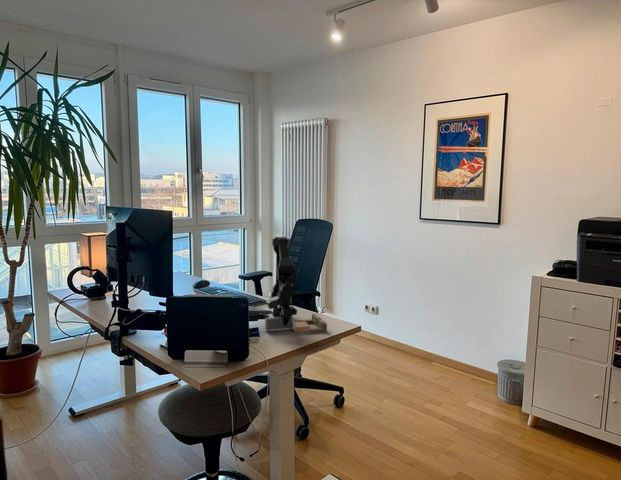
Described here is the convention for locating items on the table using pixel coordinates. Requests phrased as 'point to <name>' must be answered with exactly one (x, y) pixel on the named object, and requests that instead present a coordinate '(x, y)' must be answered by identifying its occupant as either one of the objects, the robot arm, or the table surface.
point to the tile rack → (316, 321)
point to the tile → (301, 326)
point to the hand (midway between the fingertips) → (284, 324)
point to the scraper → (278, 323)
